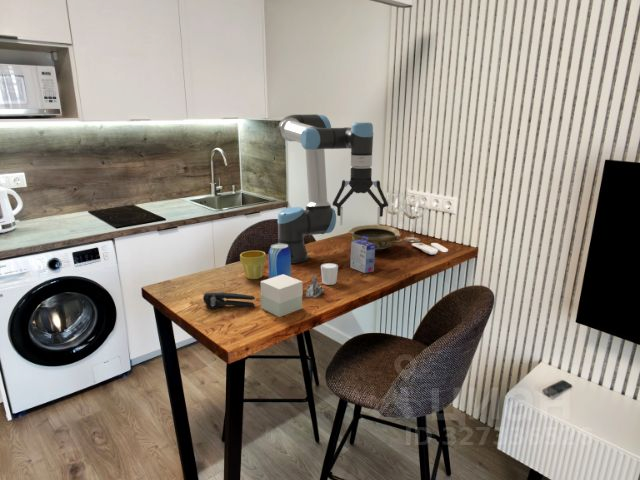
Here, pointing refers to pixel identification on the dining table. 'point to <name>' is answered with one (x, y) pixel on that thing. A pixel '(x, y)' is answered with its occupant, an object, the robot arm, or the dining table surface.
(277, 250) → the beer can
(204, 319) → the dining table surface
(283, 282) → the tower top block
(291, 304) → the tower bottom block
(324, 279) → the white gray-rimmed cylinder
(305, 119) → the robot arm
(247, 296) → the can opener
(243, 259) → the plant pot
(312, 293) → the house of cards
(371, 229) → the ceramic bowl
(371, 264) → the ink cartridge box
